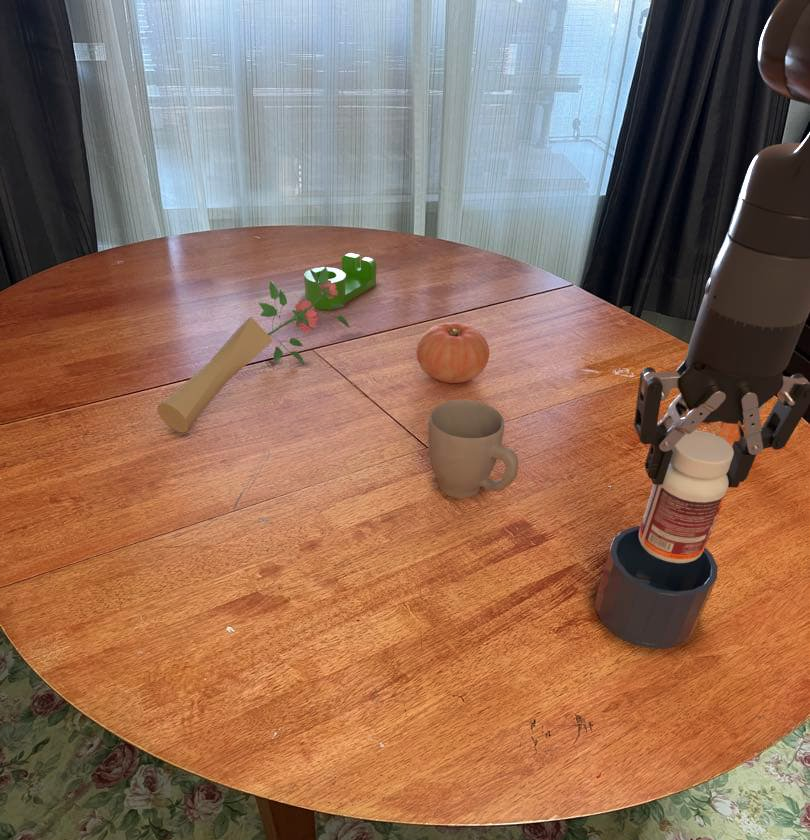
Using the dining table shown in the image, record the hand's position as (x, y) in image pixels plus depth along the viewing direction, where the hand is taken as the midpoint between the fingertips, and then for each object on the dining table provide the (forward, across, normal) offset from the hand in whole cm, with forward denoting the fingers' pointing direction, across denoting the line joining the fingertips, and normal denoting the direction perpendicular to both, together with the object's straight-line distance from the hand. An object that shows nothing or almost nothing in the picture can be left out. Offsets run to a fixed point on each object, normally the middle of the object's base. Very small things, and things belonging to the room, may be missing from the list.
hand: (692, 480), depth 68 cm
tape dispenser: (+17, -37, +78) cm, 88 cm away
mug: (+17, -17, +20) cm, 31 cm away
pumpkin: (+17, -18, +49) cm, 55 cm away
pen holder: (+17, 0, 0) cm, 17 cm away
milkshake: (+17, +19, +32) cm, 41 cm away
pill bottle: (+8, 0, 0) cm, 8 cm away
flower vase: (+17, -47, +45) cm, 67 cm away
